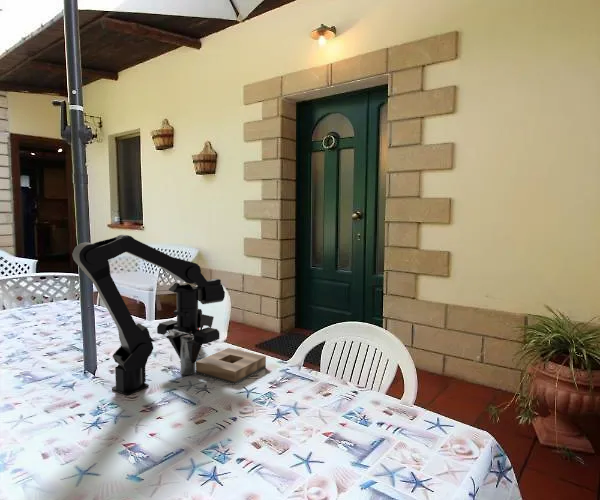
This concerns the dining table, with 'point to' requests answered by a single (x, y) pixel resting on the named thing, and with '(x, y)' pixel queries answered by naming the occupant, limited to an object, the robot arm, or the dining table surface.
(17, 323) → the dining table surface
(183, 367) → the metal pin
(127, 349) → the robot arm
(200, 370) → the walnut block
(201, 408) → the dining table surface
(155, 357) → the dining table surface
